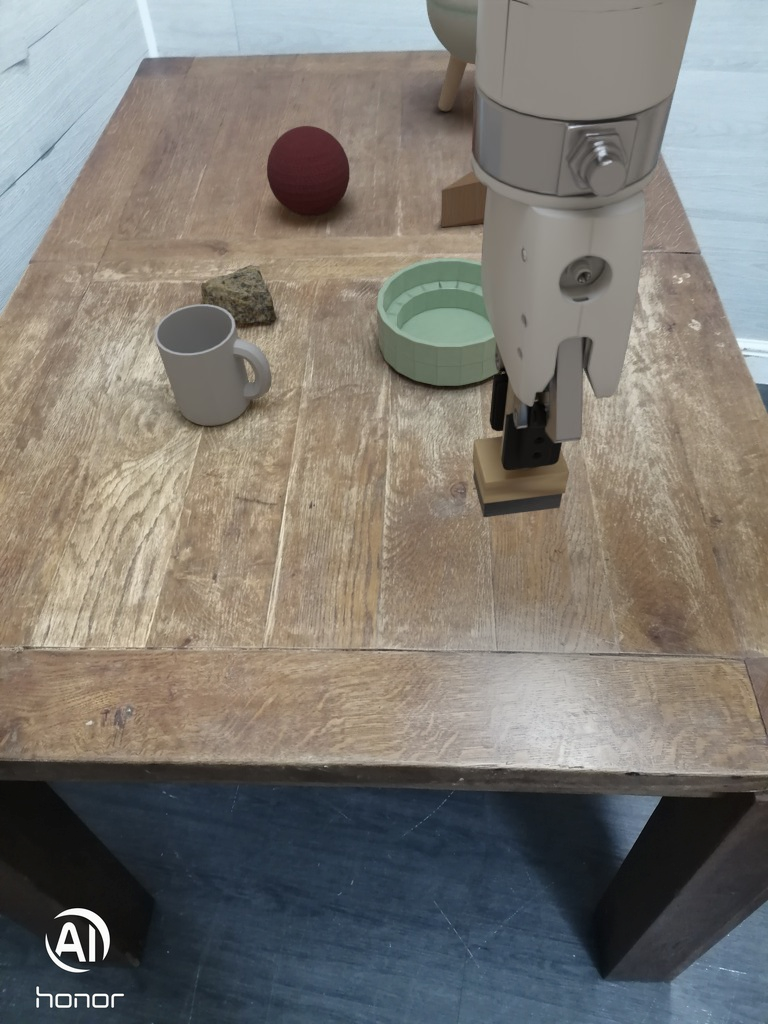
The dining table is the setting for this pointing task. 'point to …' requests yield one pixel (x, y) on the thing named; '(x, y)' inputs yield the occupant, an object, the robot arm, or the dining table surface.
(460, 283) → the bowl
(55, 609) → the dining table surface
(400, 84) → the dining table surface
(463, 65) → the planter
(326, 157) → the decorative ball
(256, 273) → the rock
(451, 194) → the wooden block set
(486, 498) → the wooden stamp
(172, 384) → the cup
